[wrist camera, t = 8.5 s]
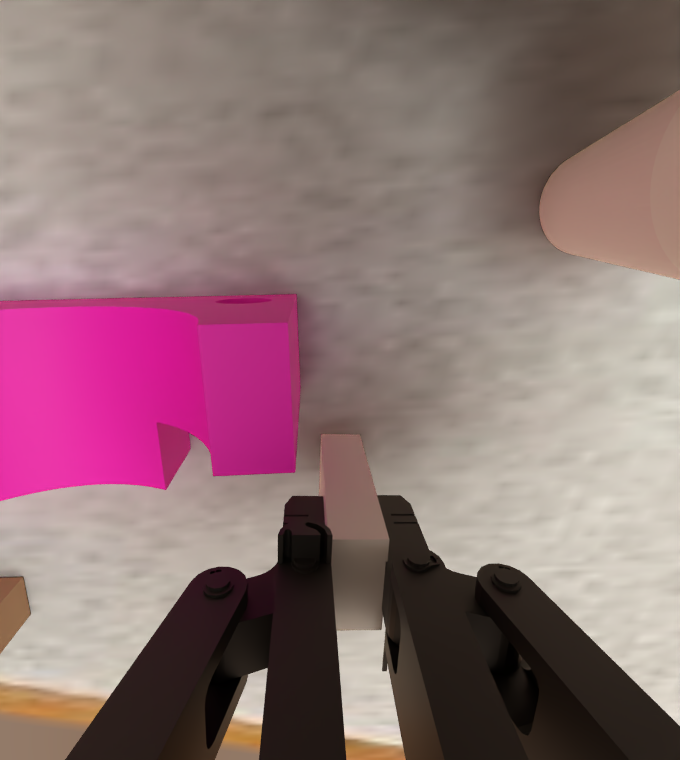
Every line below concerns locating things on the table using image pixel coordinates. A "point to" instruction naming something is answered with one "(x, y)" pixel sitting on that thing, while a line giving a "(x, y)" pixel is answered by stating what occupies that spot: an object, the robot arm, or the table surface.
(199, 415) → the toy block
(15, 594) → the stop board
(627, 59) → the table surface
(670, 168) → the smoothie
